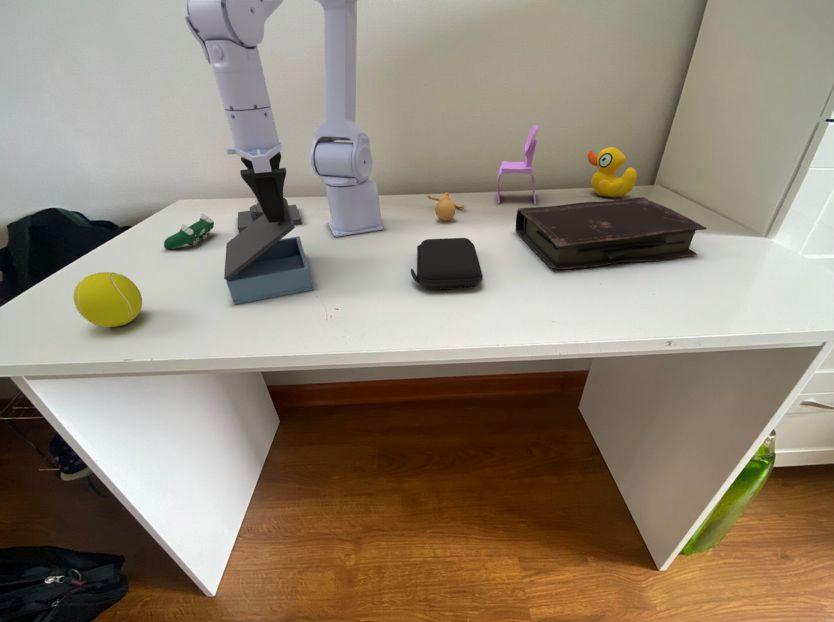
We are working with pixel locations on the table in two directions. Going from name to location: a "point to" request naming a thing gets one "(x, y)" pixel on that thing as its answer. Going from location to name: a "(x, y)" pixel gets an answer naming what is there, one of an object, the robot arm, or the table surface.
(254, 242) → the lid
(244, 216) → the control block
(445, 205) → the figurine
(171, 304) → the table surface
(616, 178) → the duckling
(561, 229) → the diary
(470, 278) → the carrying case
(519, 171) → the toy chair
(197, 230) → the green toy race car
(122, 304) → the tennis ball
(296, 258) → the lidded storage box
